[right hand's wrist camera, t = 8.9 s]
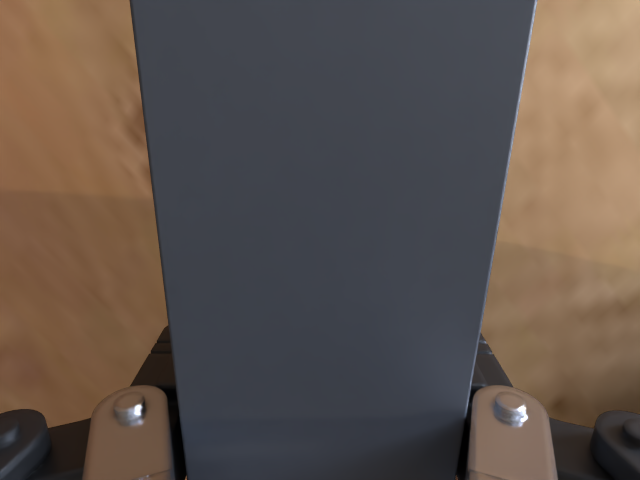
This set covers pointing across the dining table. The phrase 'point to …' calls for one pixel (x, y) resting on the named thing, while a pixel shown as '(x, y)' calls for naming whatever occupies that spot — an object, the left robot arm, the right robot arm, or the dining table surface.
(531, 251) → the dining table surface
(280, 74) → the bar
